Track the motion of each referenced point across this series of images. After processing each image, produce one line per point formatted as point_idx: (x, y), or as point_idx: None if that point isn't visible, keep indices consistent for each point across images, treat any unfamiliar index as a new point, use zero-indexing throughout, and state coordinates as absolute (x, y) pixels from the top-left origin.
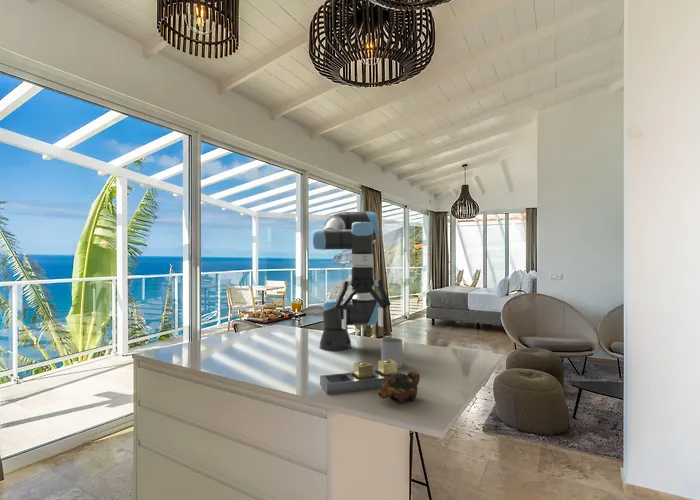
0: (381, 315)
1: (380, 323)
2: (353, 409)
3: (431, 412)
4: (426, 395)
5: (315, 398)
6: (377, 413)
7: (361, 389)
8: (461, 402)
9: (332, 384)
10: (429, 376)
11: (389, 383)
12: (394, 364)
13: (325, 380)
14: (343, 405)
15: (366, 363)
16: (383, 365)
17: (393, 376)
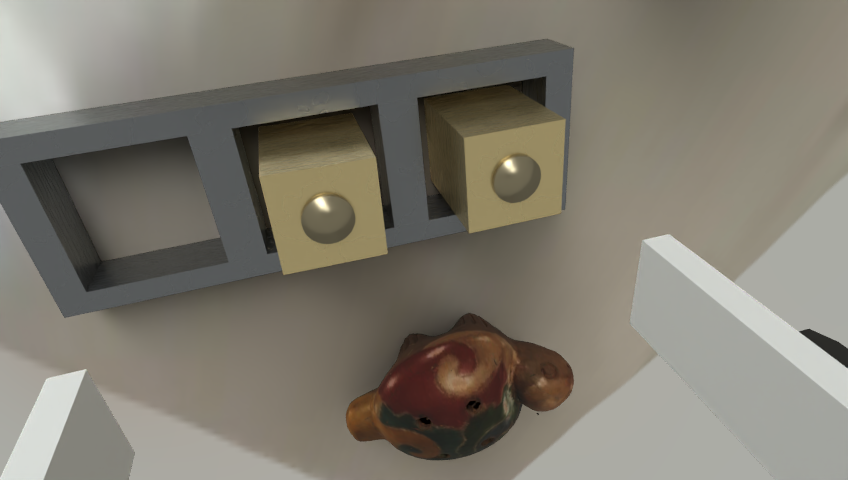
0: (743, 435)
1: (656, 330)
2: (227, 440)
3: (493, 445)
4: (554, 320)
5: (18, 342)
6: (316, 462)
7: None
8: (624, 377)
9: (103, 307)
10: (715, 77)
11: (403, 450)
12: (539, 214)
13: (40, 254)
14: (183, 411)
15: (353, 223)
16: (465, 223)
17: (437, 444)
